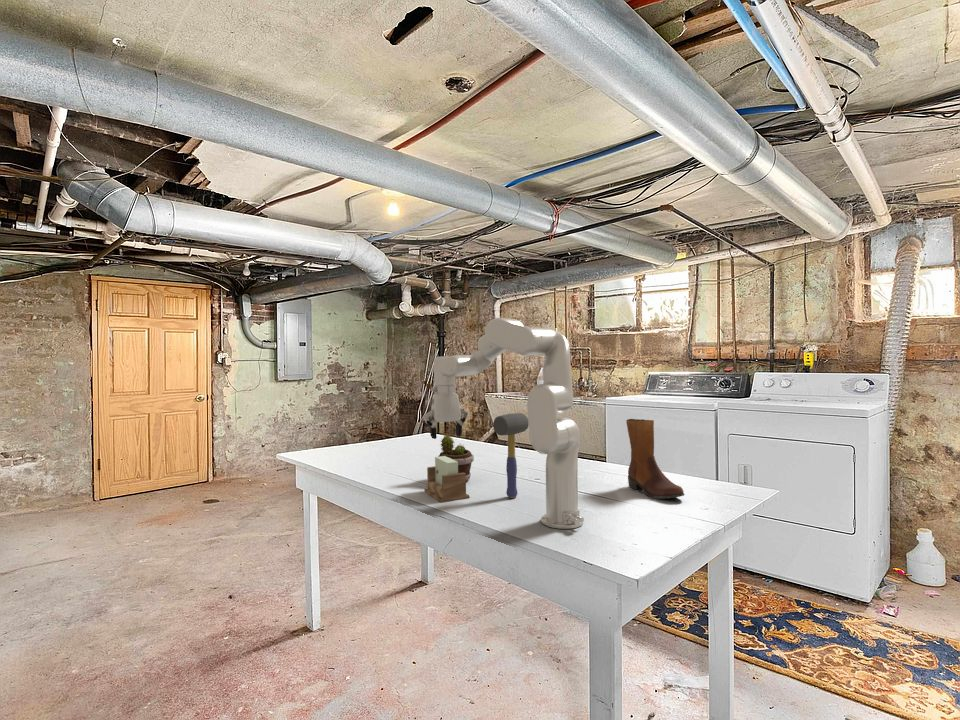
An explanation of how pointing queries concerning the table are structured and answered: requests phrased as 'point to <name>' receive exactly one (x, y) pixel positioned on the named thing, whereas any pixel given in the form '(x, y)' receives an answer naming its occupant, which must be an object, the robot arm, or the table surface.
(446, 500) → the wooden holder
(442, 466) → the door panel
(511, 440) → the rubber mallet
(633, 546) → the table surface
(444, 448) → the flowerpot
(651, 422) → the boot
